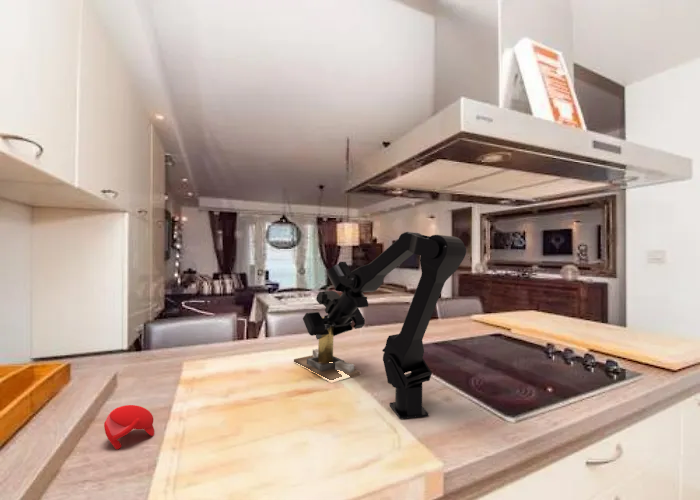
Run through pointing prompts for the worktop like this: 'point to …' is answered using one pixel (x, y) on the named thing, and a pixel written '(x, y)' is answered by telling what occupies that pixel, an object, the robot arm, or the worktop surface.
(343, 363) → the shaft rig
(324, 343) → the olive gold cylinder
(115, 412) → the red curved piece
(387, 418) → the worktop surface
